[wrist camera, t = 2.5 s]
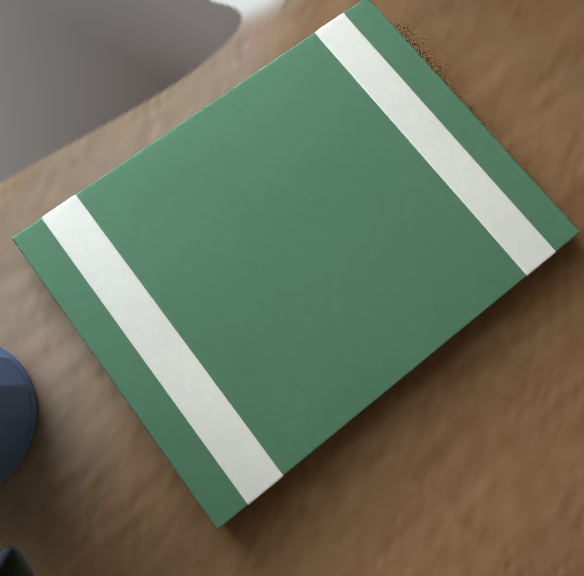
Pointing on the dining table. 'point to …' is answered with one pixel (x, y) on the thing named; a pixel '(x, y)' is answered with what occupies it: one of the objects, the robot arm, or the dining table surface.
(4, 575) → the robot arm
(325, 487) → the dining table surface
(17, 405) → the jar
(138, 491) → the dining table surface
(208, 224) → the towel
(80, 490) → the dining table surface
